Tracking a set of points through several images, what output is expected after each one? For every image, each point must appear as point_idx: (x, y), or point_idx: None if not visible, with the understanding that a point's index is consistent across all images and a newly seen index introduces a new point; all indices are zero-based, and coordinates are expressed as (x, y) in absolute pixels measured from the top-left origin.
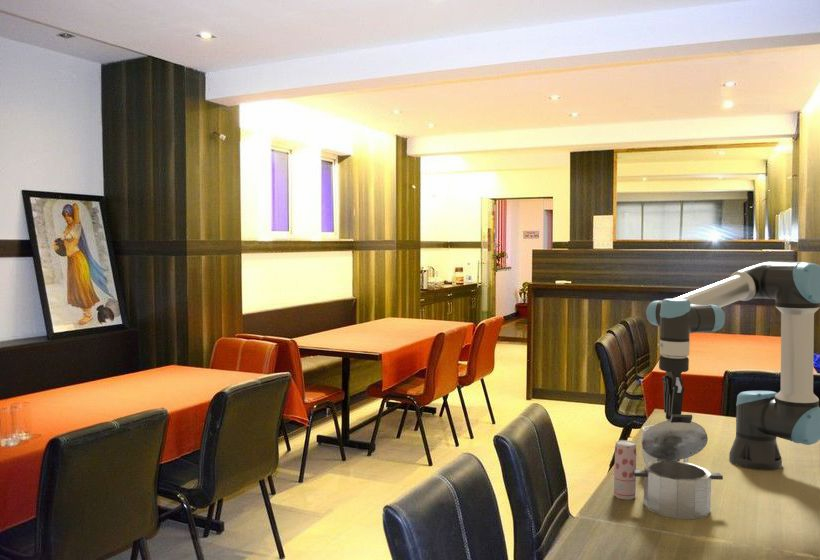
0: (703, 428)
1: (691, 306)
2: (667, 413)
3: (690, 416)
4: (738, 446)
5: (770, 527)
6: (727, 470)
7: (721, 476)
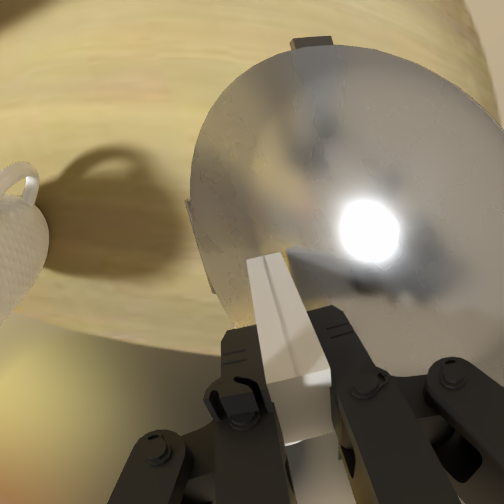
0: (458, 88)
1: None
2: (290, 473)
3: None
4: None
5: None
6: None
7: (331, 41)
